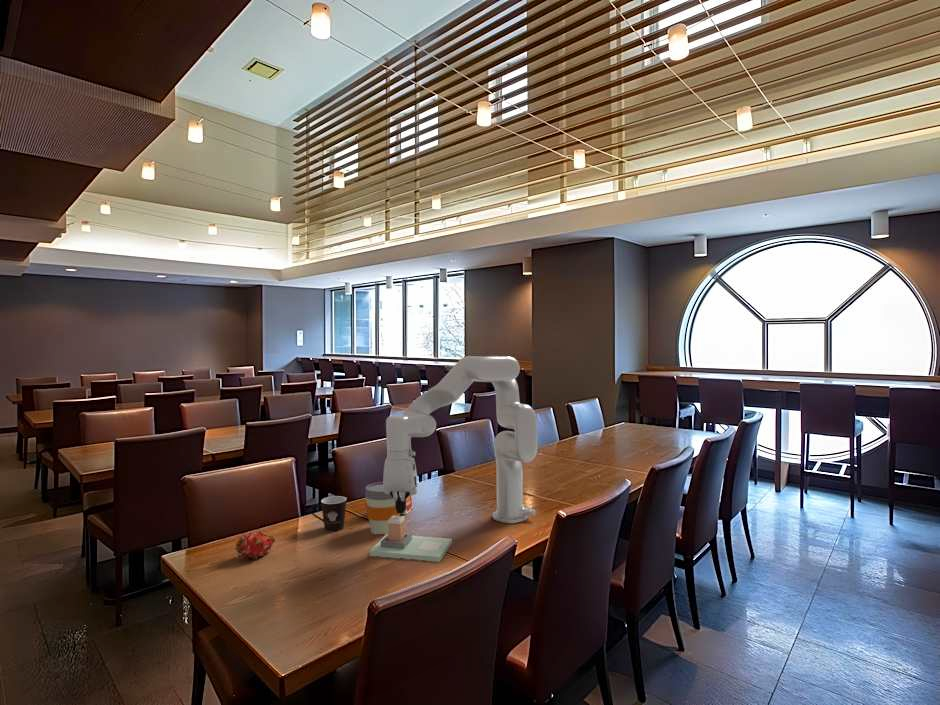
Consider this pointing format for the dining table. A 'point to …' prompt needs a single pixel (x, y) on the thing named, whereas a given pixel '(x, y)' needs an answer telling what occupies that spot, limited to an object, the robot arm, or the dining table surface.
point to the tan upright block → (396, 528)
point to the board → (412, 548)
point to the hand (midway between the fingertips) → (401, 512)
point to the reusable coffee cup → (379, 507)
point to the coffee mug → (332, 512)
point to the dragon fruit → (254, 545)
